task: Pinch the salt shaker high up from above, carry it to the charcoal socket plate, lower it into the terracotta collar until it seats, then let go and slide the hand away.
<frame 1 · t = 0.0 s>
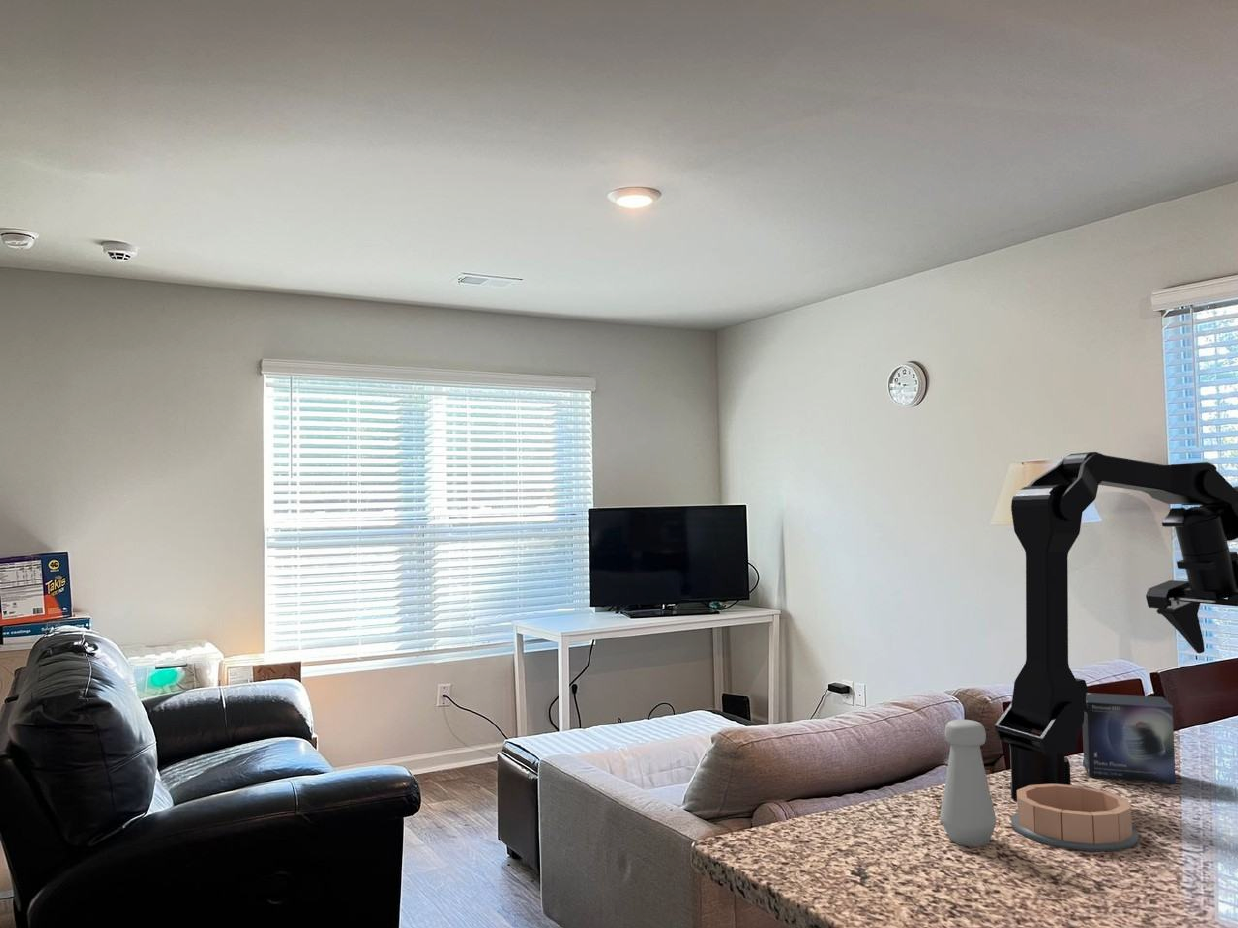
hand: (1231, 656, 129), 15 cm above the counter, tool pointing down, fingers open, 9 cm apart
socket: (1073, 830, 104), on the counter
small box: (1128, 776, 126), on the counter
salt shaker: (969, 841, 102), on the counter
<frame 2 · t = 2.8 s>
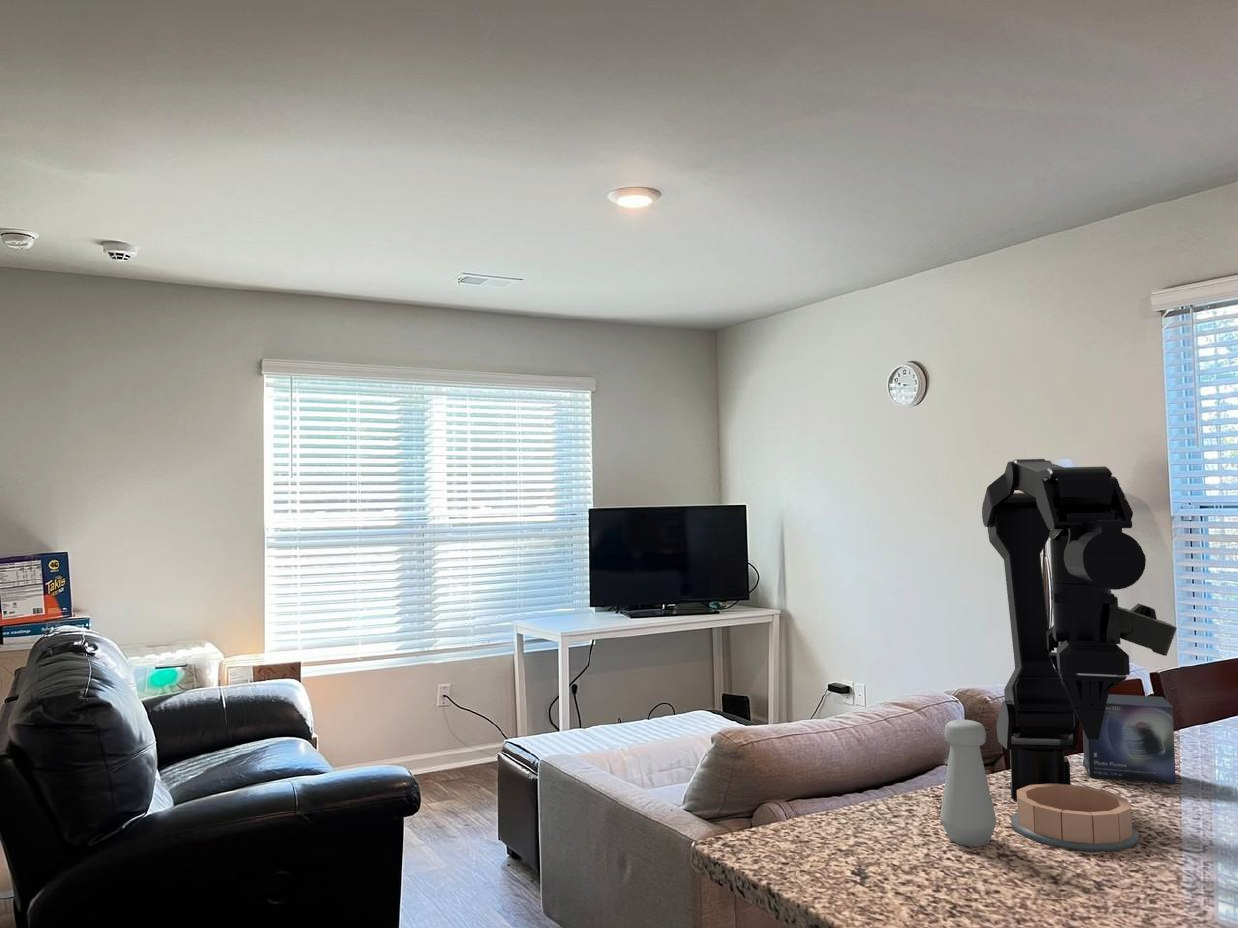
hand: (1087, 729, 98), 13 cm above the counter, tool pointing down, fingers open, 9 cm apart
nothing on the counter moved.
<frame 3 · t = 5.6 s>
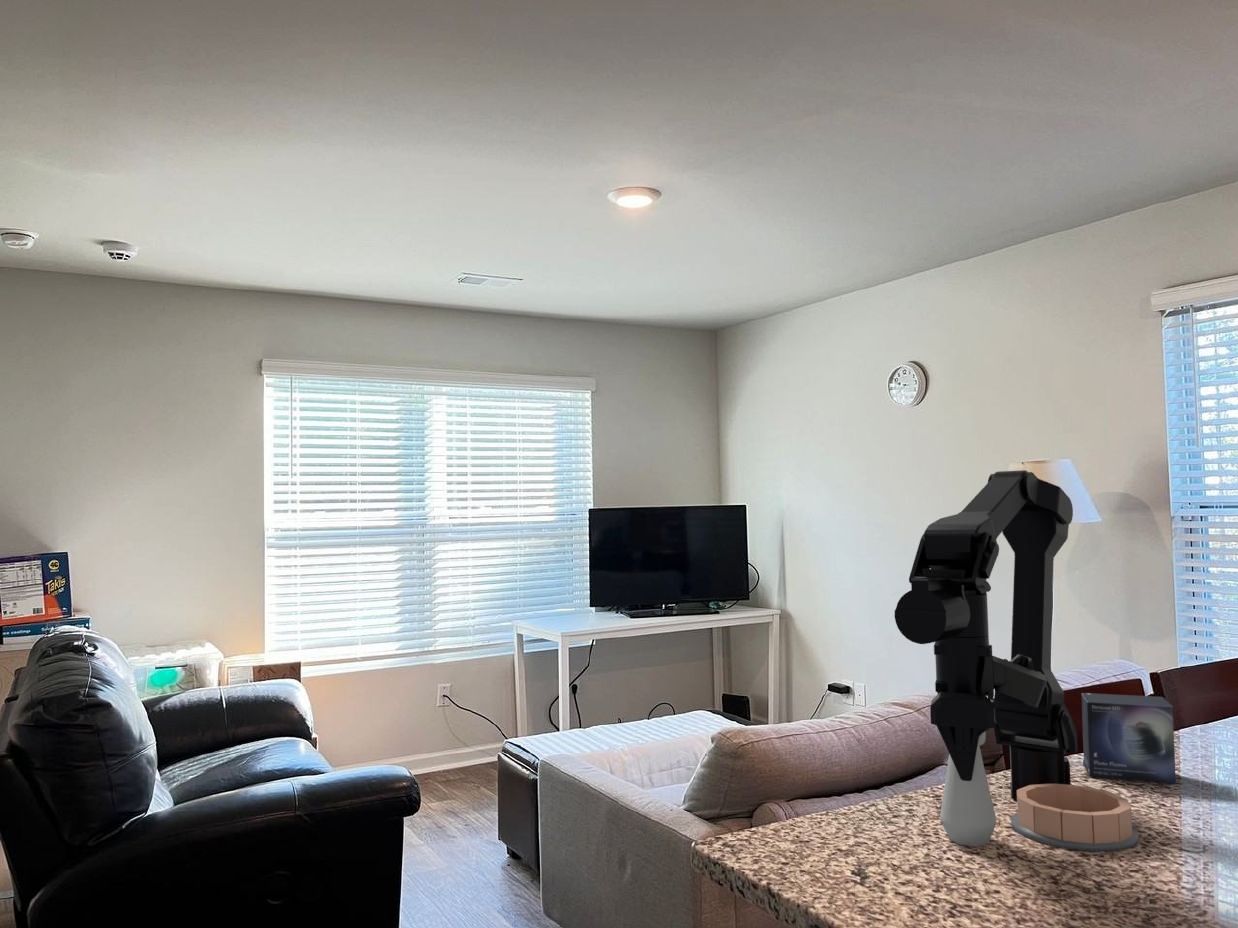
hand: (966, 775, 102), 7 cm above the counter, tool pointing down, fingers closed on salt shaker, 4 cm apart
salt shaker: (969, 841, 102), on the counter, touching gripper
everything else where it was.
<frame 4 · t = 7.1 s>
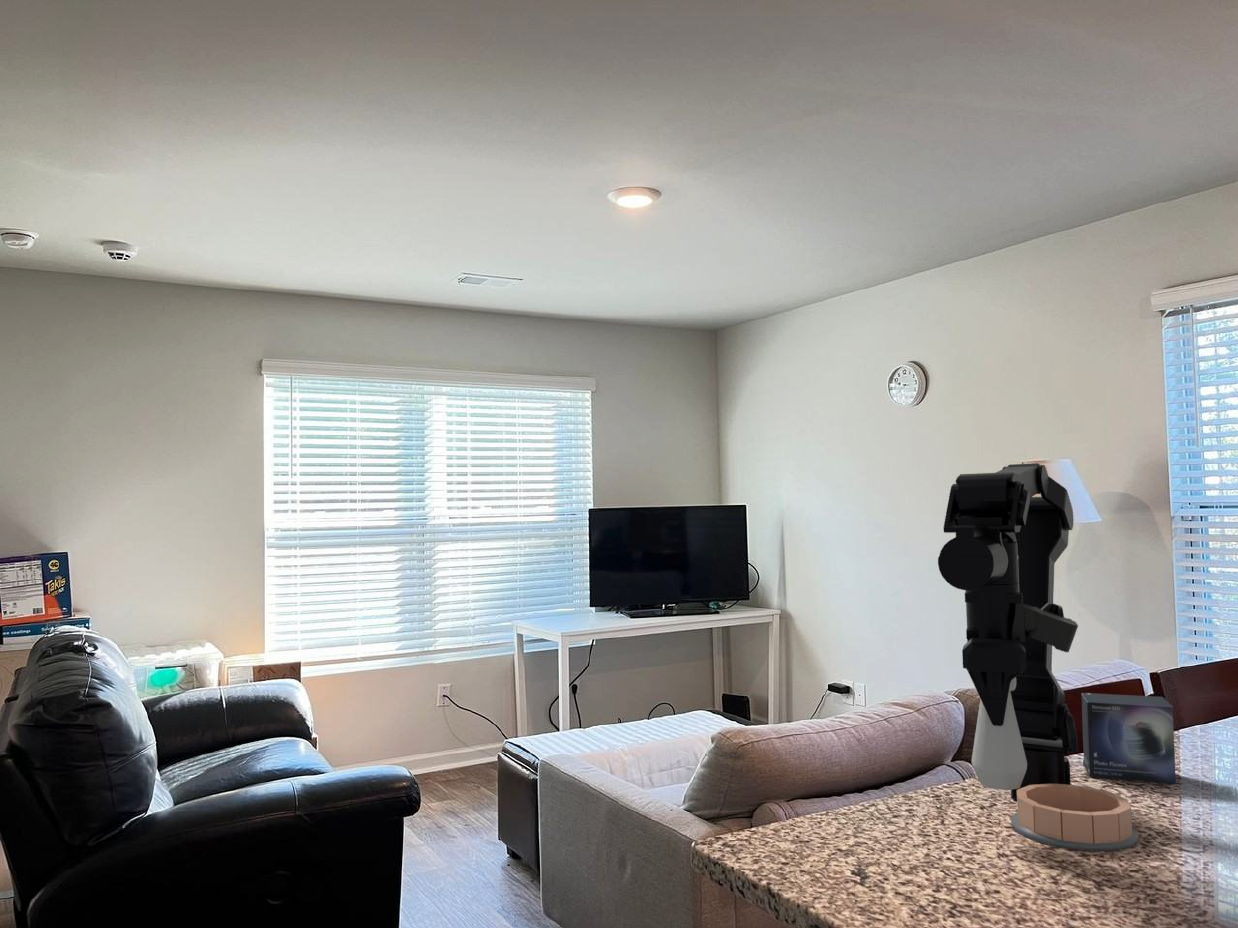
hand: (997, 721, 103), 13 cm above the counter, tool pointing down, fingers closed on salt shaker, 4 cm apart
salt shaker: (1000, 786, 103), point 5 cm above the counter, touching gripper
everything else where it was.
when the fingers open (9 cm above the counter, at t = 8.9 s): salt shaker drops 1 cm, resting on socket.
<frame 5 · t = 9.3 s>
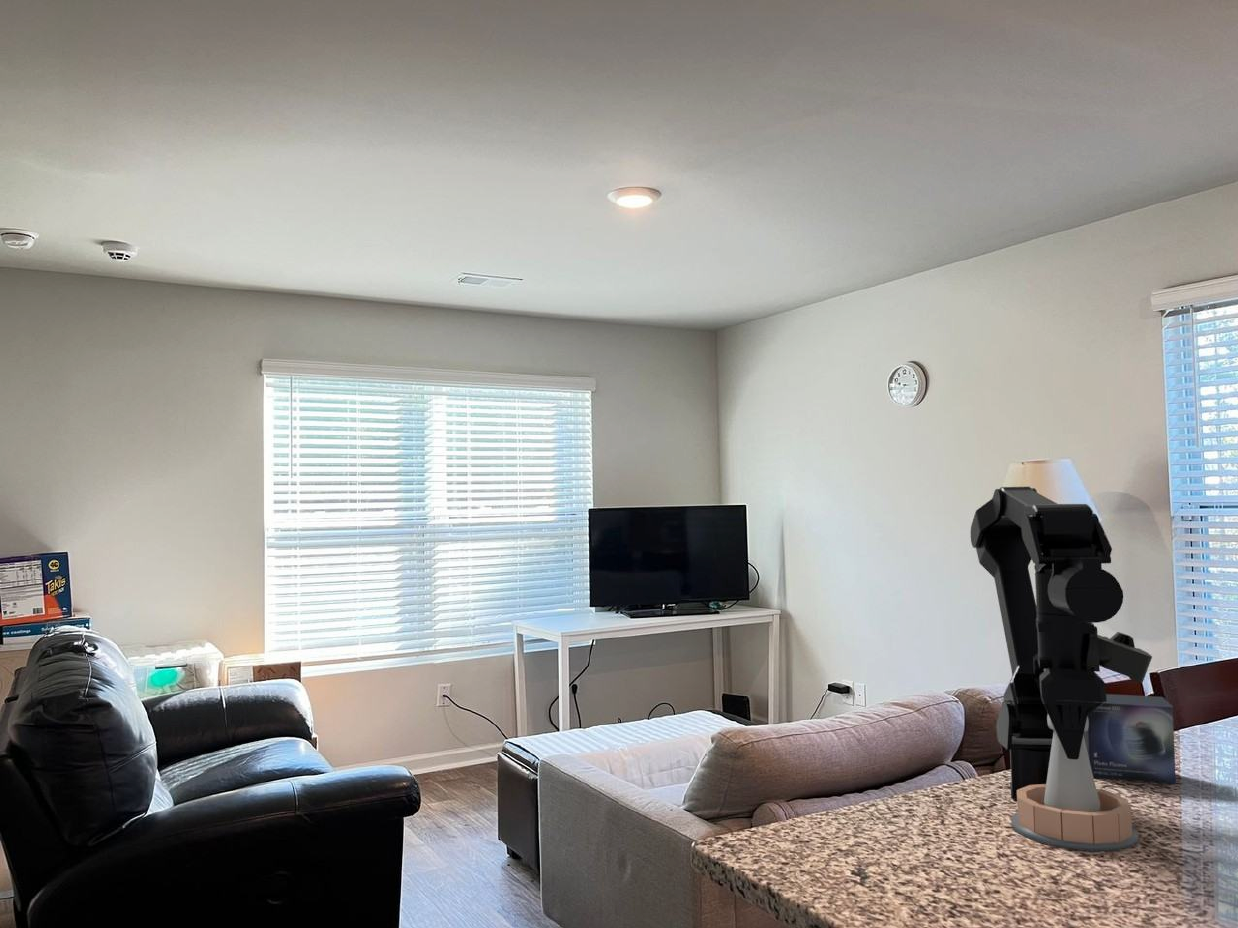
hand: (1069, 750, 105), 9 cm above the counter, tool pointing down, fingers open, 8 cm apart
salt shaker: (1073, 826, 104), resting on socket
everything else where it was.
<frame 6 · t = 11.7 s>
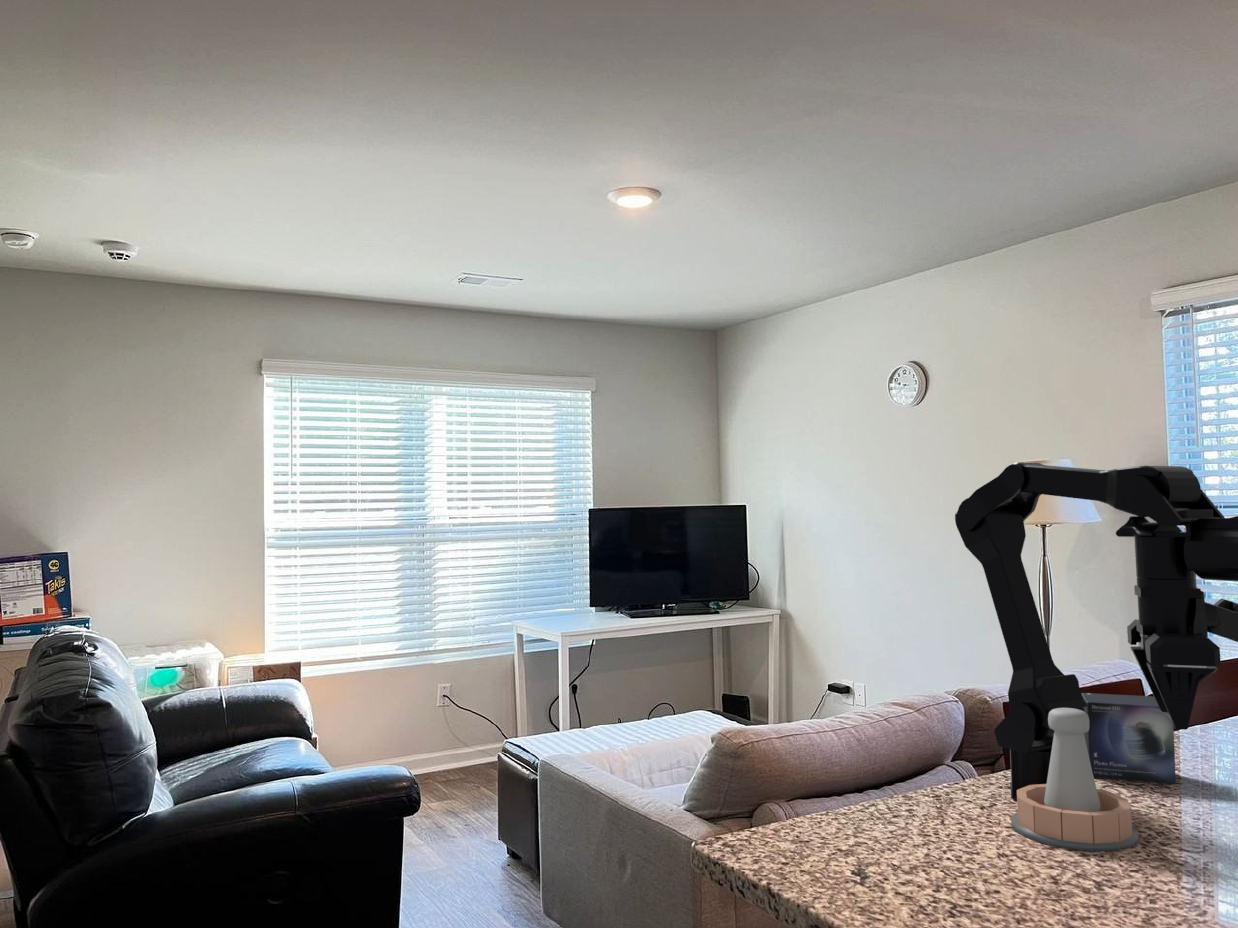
hand: (1173, 720, 101), 13 cm above the counter, tool pointing down, fingers open, 9 cm apart
nothing on the counter moved.
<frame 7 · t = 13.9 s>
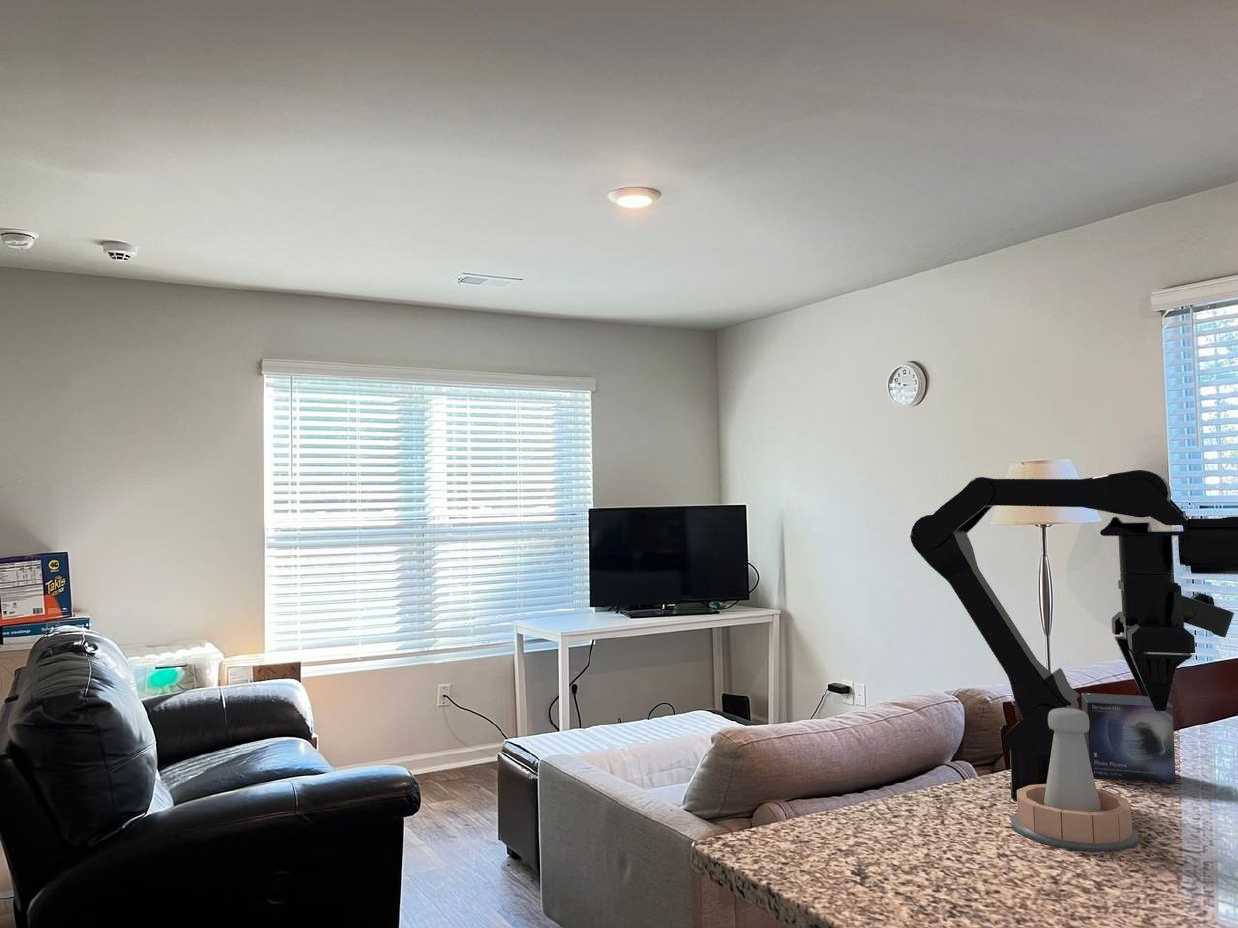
hand: (1153, 703, 110), 13 cm above the counter, tool pointing down, fingers open, 9 cm apart
nothing on the counter moved.
at the end: salt shaker 0.1 cm off-centre on the socket, point 0.4 cm above the socket's base; salt shaker tilted 0°; the gripper is holding nothing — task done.
